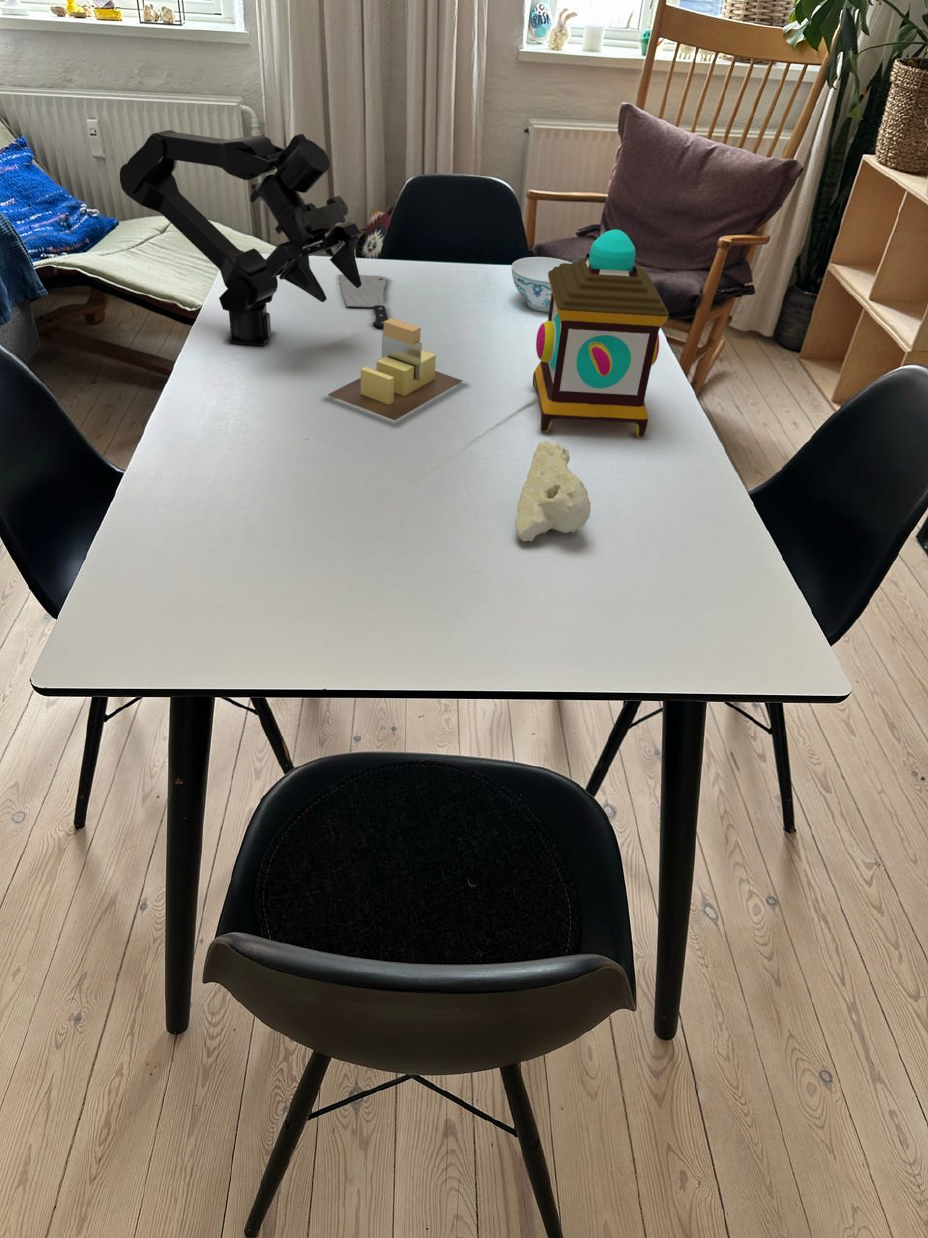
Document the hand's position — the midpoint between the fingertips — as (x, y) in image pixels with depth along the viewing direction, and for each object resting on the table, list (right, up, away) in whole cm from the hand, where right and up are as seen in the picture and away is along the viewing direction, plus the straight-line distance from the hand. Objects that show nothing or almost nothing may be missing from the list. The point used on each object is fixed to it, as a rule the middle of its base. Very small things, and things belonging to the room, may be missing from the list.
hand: (342, 293), depth 155 cm
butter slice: (+6, -18, -2) cm, 19 cm away
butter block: (+10, -14, +4) cm, 18 cm away
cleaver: (0, +11, +35) cm, 37 cm away
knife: (+10, -13, +2) cm, 16 cm away
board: (+9, -16, +3) cm, 19 cm away
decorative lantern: (+41, -20, +2) cm, 46 cm away
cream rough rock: (+31, -40, -24) cm, 57 cm away
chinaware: (+37, +11, +40) cm, 56 cm away
